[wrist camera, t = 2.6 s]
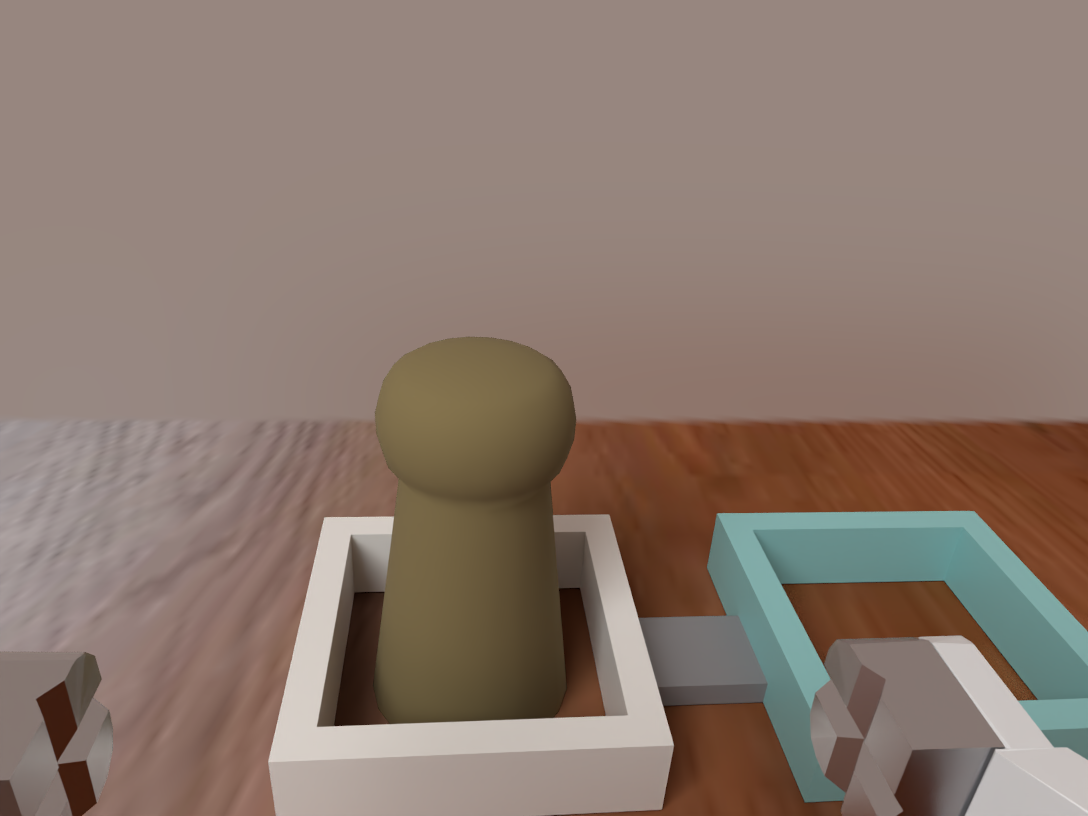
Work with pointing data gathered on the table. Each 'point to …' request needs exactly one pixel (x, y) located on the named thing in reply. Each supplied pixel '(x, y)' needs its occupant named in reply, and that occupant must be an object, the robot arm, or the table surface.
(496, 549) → the olive pawn
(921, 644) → the robot arm
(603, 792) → the white socket
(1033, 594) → the teal socket
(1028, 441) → the table surface
